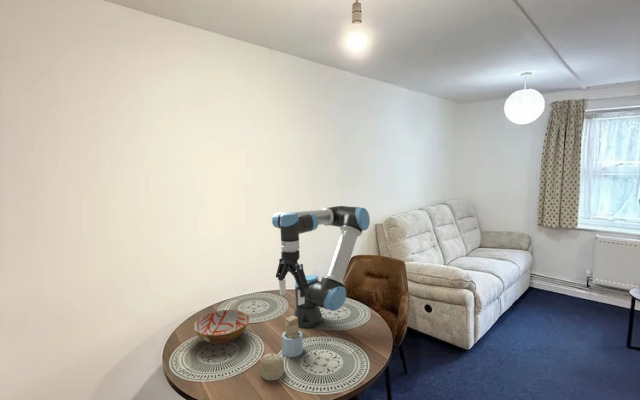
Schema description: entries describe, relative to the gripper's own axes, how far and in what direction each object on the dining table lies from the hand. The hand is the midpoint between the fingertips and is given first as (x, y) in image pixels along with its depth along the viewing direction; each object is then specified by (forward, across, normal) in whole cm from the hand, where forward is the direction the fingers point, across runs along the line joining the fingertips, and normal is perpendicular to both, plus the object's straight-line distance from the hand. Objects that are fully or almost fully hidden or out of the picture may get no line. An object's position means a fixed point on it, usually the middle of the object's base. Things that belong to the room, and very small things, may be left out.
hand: (291, 299), depth 138 cm
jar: (+23, 0, 0) cm, 23 cm away
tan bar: (+22, 0, 0) cm, 22 cm away
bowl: (+23, -31, -18) cm, 43 cm away
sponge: (+23, +7, -15) cm, 28 cm away
